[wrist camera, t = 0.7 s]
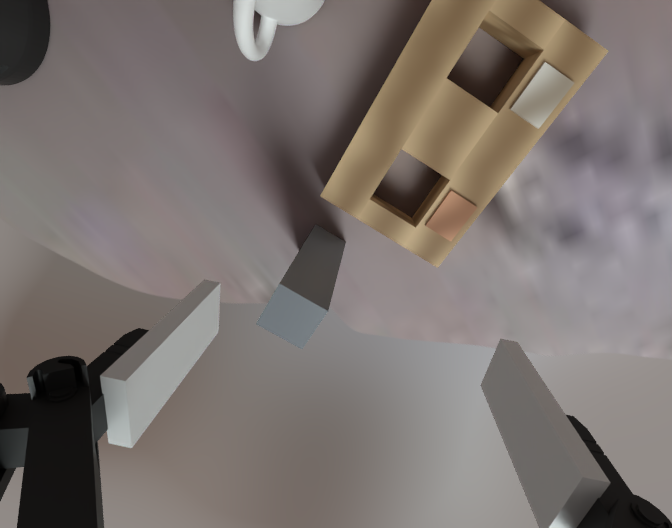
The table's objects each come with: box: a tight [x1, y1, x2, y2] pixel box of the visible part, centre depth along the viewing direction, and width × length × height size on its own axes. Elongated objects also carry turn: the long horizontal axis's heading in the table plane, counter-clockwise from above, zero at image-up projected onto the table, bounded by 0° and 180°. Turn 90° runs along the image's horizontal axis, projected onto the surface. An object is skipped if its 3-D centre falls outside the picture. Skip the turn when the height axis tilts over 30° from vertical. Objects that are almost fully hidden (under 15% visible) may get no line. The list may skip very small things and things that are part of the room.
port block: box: [320, 0, 608, 268], centre depth 32 cm, size 14×22×4 cm, turn 150°
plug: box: [256, 225, 346, 349], centre depth 33 cm, size 4×4×16 cm
